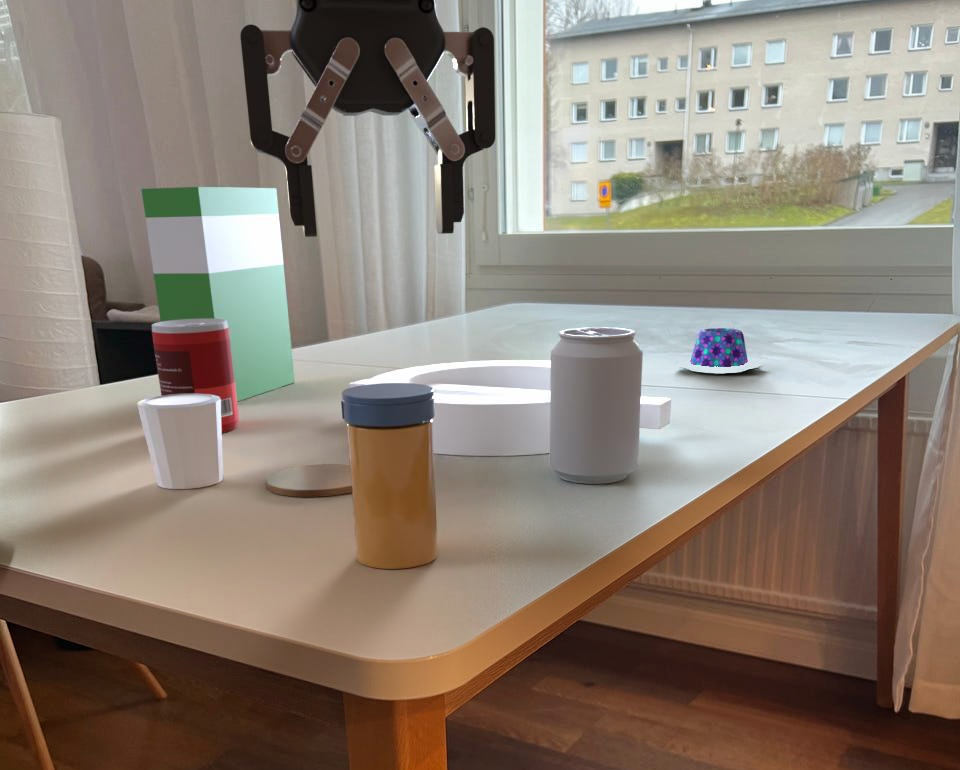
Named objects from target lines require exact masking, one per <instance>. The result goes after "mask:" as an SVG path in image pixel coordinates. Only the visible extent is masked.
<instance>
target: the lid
mask: <svg viewBox="0 0 960 770" xmlns="http://www.w3.org/2000/svg"><path fill="white" fill-rule="evenodd" d="M341 399H342V400H340V404H341V405H340V406H341V416H342V417H341V418H342V420H344V422H346V423H347V422H348V423H350V424H354V425H360V426H373V427H389V426H403V425H412V424H418V423H422V422H425V421H428V420H431V419H432V418H434V416H435V409H434V389H433V388H432V387H430V386H427V385H422V384H413V383H381V384H369V385H361V386H356V387H352V388H349V387H348V388H346V389H344V390H342V391H341Z"/></svg>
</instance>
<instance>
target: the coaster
mask: <svg viewBox="0 0 960 770" xmlns="http://www.w3.org/2000/svg"><path fill="white" fill-rule="evenodd" d="M265 485H266V489H267V490H268V491H269V492H270V493H273V494H277V495H281V496H287V497H294V498H295V497H296V498H318V497H319V498H322V497H332V496H339V495H344V494H350V493H352V485H351V472H350V464H347V463H315V464H306V465H305V464H304V465H298V466H292V467H288V468H284V469H281V470H278V471H275V472H273V473H271V474H269V475H268V476H267V477H266V478H265Z"/></svg>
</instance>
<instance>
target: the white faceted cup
mask: <svg viewBox="0 0 960 770" xmlns="http://www.w3.org/2000/svg"><path fill="white" fill-rule="evenodd" d="M136 405H137V410H138V413H139V418H140V422H141V426H142V429H143V434H144V438H145V441H146V445H147V449H148V455H149V458H150V461H151V465H152V470H153V474H154V477H155V482H156V485H157V487H160V488H162V489H169V490H189V489H200V488H206V487H210V486H212V485H216V484H219V483H220V482H221V481H223V480H224V461H223V460H224V459H223V458H224V457H223V433H222V426H221V399H220V397H219V396H215V395H210V394H196V393H191V394H171V395H163V396H161V395H157V396H153V397H149V398H148V397H147V398H144V399H142V400H140V401H138V402H136Z"/></svg>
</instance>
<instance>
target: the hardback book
mask: <svg viewBox="0 0 960 770" xmlns="http://www.w3.org/2000/svg"><path fill="white" fill-rule="evenodd" d="M141 196H142V204H143V208H144V210H143V211H144V217H145V222H146V230H147V231H146V232H147V236H148V237H147V239H148V244H149V252H150V256H151V257H150V258H151V266H152V273H153V278H154V279H153V280H154V286H155V292H156V300H157V307H158V313H159V320H160V321H159V322H163V321H171V320H182V319H223V320H226V321H227V325H228V328H229V336H230V343H231V352H232V361H233V370H234V379H235V387H236V396H237V403H238V402H241V401H244V400H247V399H250V398H252V397H256V396H258V395H262V394H264V393H268V392H271V391H273V390H276V389H279V388H282V387H285V386H288V385H291V384H293V383H295V382H296V380H295V370H294V359H293V348H292V339H291V328H290V318H289V306H288V298H287V297H288V296H287V286H286V275H285V266H284V254H283V245H282V243H283V242H282V234H281V225H280V224H281V222H280V213H279V212H280V211H279V202H278V201H279V200H278V192H277V187H232V186H231V187H229V186H227V187H226V186H223V187H222V186H183V187H182V186H181V187H155V188H149V187H148V188H141Z"/></svg>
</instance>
